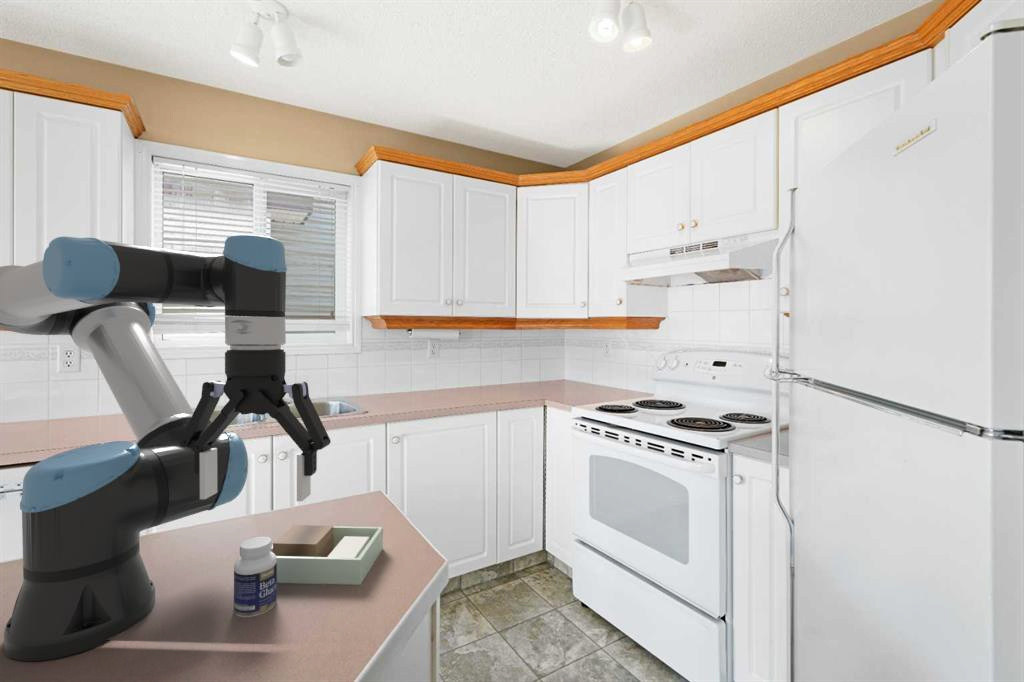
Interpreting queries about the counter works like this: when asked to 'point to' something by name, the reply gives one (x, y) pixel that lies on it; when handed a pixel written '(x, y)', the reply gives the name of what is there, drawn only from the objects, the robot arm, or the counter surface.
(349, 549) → the white box
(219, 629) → the counter surface
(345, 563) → the box
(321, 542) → the walnut block
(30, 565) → the robot arm
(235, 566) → the pill bottle
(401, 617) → the counter surface
